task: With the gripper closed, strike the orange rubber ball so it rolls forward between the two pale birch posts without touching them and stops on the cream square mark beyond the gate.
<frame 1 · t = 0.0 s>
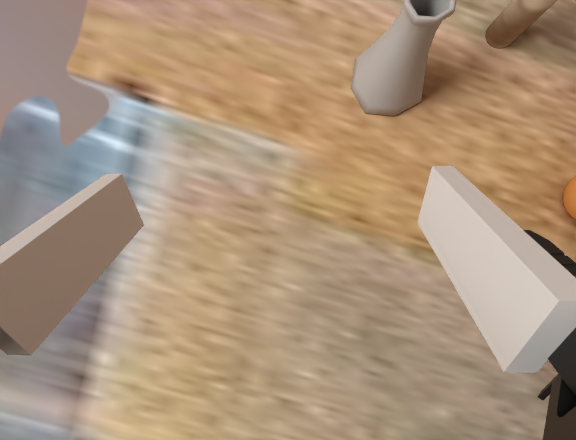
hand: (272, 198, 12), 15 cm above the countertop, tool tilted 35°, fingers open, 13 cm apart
post 1: (499, 34, 26), on the countertop
flask: (386, 83, 27), on the countertop
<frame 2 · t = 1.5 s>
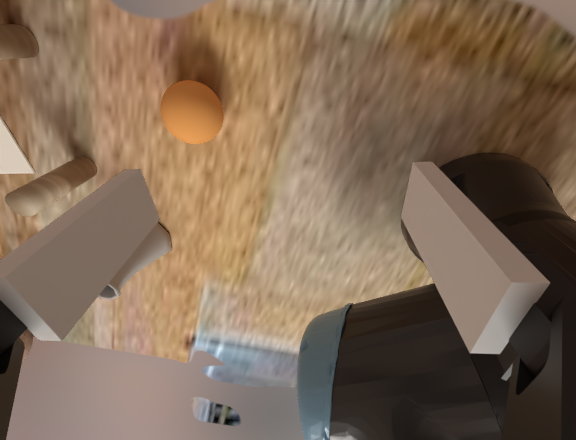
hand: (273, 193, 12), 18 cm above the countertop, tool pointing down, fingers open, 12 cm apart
post 1: (85, 166, 33), on the countertop
ball: (193, 113, 26), on the countertop
flask: (148, 235, 39), on the countertop
post 2: (23, 41, 26), on the countertop
cooking pot: (1, 302, 50), on the countertop
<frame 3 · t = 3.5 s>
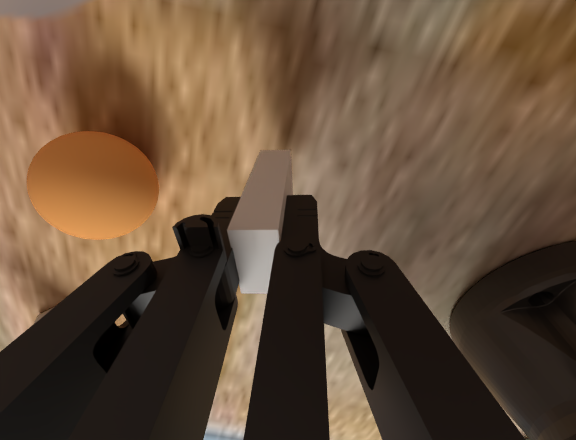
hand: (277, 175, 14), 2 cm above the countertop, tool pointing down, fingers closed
ball: (100, 186, 14), on the countertop
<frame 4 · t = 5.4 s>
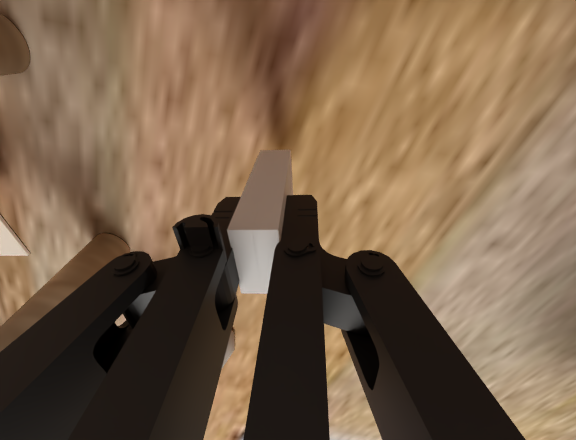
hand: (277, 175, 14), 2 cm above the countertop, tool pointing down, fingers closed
post 1: (112, 247, 20), on the countertop
post 2: (0, 42, 13), on the countertop
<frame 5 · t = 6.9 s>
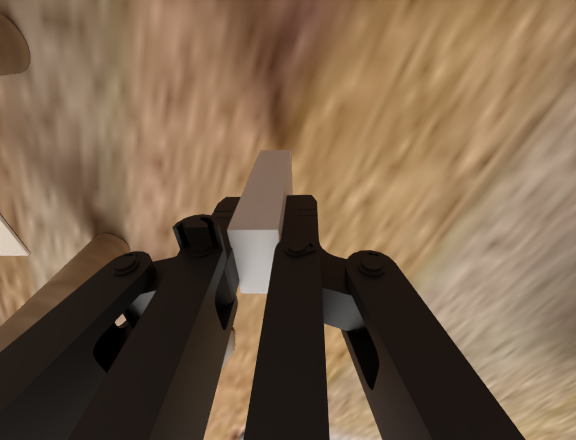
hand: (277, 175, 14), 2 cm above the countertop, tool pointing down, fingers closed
post 1: (112, 247, 20), on the countertop
post 2: (0, 42, 13), on the countertop
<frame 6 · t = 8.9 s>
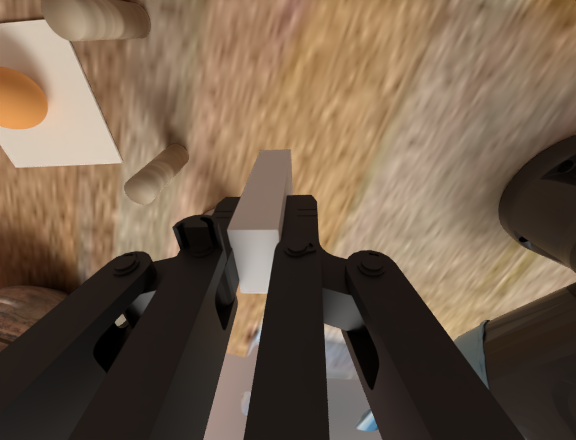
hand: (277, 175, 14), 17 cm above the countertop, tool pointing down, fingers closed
post 1: (177, 154, 32), on the countertop
ball: (9, 99, 26), on the countertop
post 2: (136, 20, 24), on the countertop
cooking pot: (63, 300, 49), on the countertop
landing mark: (35, 104, 29), on the countertop
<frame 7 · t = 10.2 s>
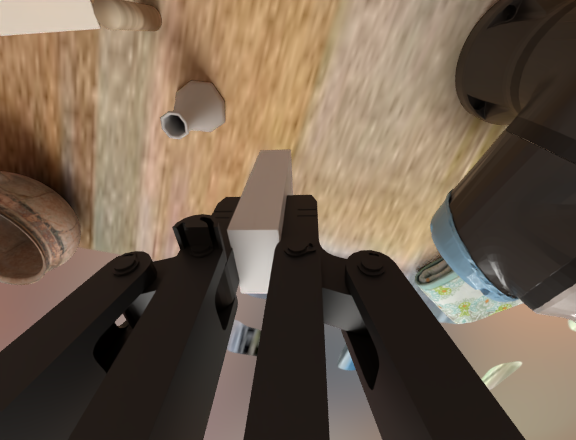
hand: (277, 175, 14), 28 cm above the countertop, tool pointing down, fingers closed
post 1: (151, 18, 34), on the countertop
flask: (202, 106, 40), on the countertop
towel: (479, 270, 55), on the countertop
cooking pot: (49, 203, 51), on the countertop
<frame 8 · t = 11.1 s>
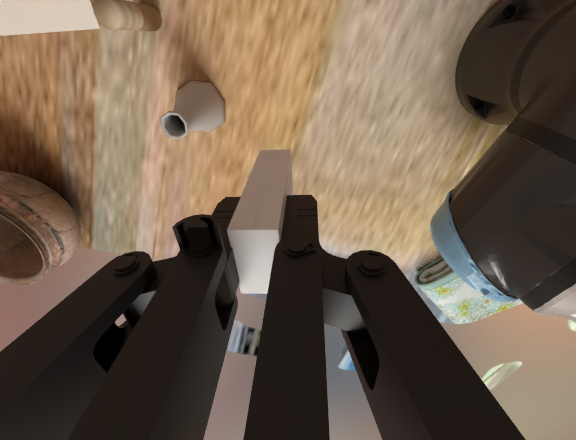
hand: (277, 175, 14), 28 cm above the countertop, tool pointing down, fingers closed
post 1: (151, 18, 34), on the countertop
flask: (202, 106, 40), on the countertop
towel: (479, 270, 55), on the countertop
cooking pot: (48, 203, 51), on the countertop
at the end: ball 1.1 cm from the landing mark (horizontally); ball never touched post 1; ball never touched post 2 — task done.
